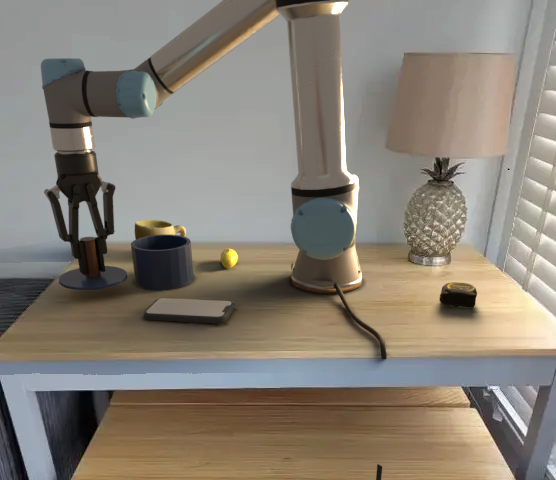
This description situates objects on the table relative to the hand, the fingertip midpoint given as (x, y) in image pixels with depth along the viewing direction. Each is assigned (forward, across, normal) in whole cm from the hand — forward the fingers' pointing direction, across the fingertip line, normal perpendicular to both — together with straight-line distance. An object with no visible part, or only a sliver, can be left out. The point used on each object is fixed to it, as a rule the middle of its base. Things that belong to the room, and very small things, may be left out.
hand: (92, 271), depth 125 cm
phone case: (+5, -12, +21) cm, 24 cm away
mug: (+5, -23, -17) cm, 29 cm away
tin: (+5, -16, 0) cm, 16 cm away
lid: (+2, 0, 0) cm, 2 cm away
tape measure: (+5, -58, +47) cm, 74 cm away
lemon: (+5, -33, -1) cm, 33 cm away
